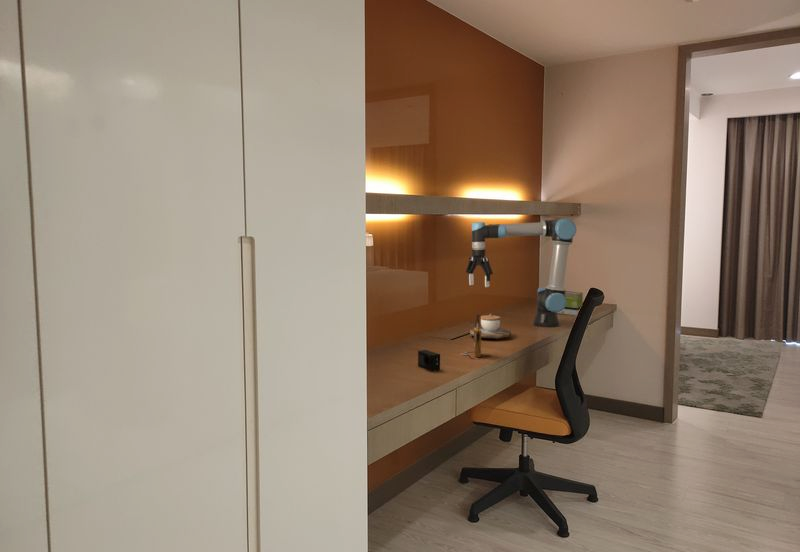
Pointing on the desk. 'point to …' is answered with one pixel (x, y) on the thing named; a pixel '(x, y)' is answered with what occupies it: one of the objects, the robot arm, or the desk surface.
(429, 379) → the desk surface
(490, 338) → the turntable pedestal
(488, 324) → the lidded jar
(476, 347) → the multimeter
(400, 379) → the desk surface
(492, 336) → the turntable
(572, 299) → the tea box
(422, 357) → the digital camera
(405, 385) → the desk surface
